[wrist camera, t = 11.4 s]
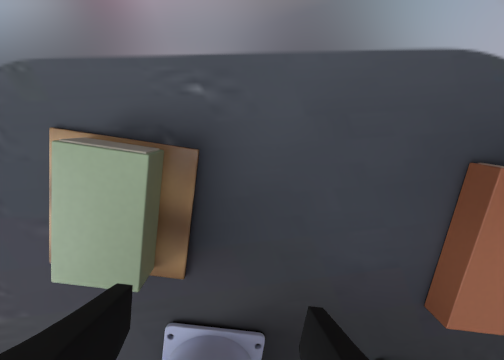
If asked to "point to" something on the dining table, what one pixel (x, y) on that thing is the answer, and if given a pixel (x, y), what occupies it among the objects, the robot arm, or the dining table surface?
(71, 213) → the pale green rectangular block
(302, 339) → the robot arm
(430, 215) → the dining table surface
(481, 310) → the hardback
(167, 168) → the cork mat
